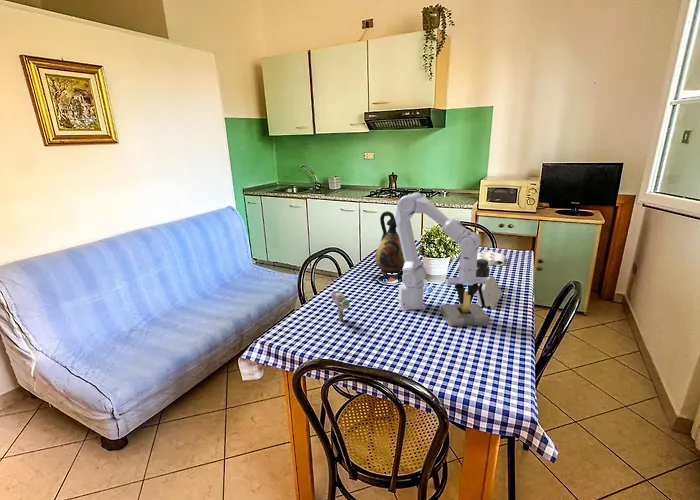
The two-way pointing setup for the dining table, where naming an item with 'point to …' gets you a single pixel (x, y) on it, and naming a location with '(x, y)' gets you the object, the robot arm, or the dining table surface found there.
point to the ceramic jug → (389, 248)
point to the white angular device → (488, 293)
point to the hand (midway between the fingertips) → (464, 302)
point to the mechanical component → (340, 302)
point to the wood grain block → (465, 303)
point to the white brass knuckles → (491, 257)
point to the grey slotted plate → (464, 315)
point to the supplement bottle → (482, 268)
